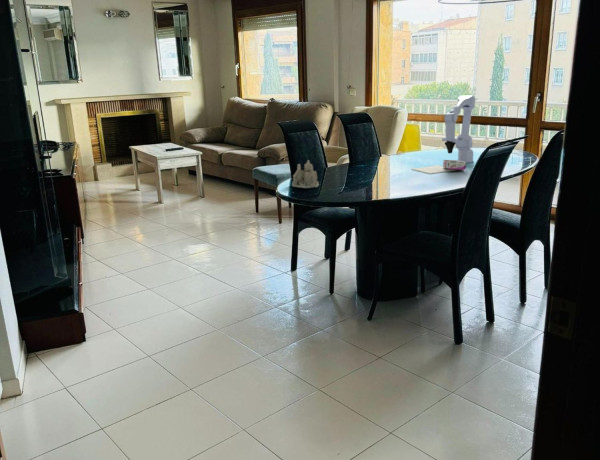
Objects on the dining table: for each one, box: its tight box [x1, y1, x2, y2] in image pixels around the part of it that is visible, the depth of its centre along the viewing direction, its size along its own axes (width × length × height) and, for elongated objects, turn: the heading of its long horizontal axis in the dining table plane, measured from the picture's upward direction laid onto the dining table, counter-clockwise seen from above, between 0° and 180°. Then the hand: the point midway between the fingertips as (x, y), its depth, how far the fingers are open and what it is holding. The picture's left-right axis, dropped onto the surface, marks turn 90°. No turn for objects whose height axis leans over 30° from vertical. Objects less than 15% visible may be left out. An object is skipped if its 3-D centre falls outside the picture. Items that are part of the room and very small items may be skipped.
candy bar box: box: [442, 159, 467, 170], centre depth 345 cm, size 11×5×16 cm
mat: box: [411, 164, 457, 175], centre depth 351 cm, size 20×20×1 cm
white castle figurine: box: [291, 159, 320, 189], centre depth 326 cm, size 16×16×15 cm
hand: (450, 153), depth 352 cm, fingers closed
